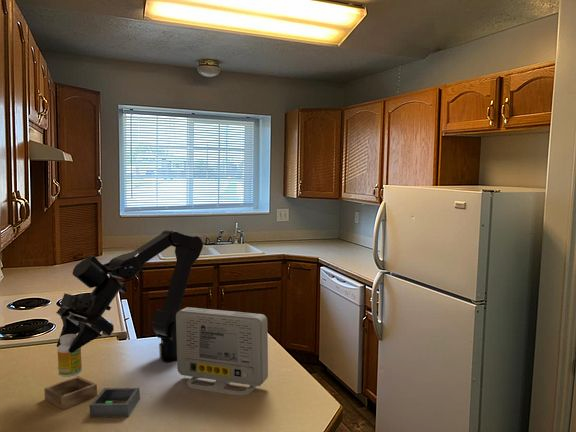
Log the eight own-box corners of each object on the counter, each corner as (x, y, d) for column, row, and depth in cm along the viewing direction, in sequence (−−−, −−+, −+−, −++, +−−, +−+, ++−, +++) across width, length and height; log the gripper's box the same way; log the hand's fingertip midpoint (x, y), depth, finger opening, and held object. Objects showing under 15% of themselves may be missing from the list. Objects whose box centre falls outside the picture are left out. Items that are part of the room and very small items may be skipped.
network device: (271, 384, 127) (270, 312, 126) (258, 398, 119) (257, 321, 117) (189, 372, 136) (187, 304, 134) (172, 385, 127) (170, 313, 126)
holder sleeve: (78, 386, 127) (77, 376, 126) (97, 395, 121) (96, 384, 121) (44, 399, 119) (44, 388, 119) (63, 409, 114) (62, 397, 114)
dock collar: (104, 399, 119) (103, 385, 119) (139, 399, 119) (139, 385, 119) (90, 417, 110) (89, 402, 110) (128, 417, 110) (127, 402, 110)
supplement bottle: (72, 378, 117) (70, 340, 116) (54, 376, 118) (51, 339, 117) (86, 369, 122) (84, 333, 121) (68, 368, 123) (66, 332, 122)
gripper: (61, 276, 127) (21, 327, 119) (100, 285, 116) (59, 341, 108) (90, 298, 134) (54, 347, 126) (129, 308, 123) (92, 363, 115)
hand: (63, 349), depth 118 cm, fingers closed on supplement bottle, 5 cm apart
